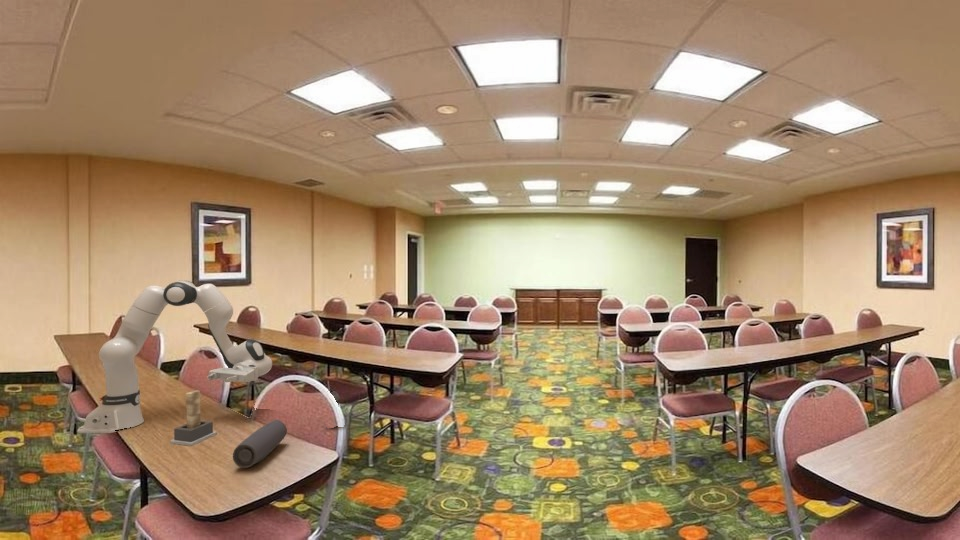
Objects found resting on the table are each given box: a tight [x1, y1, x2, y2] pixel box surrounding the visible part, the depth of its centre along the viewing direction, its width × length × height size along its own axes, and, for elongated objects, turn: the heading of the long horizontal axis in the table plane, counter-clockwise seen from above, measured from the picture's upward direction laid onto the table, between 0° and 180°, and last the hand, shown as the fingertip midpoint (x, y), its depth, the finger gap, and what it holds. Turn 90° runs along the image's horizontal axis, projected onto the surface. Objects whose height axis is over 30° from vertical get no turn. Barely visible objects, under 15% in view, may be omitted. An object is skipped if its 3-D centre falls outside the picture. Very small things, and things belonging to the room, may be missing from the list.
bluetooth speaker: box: [232, 419, 288, 469], centre depth 163 cm, size 23×9×10 cm, turn 178°
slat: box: [185, 390, 202, 429], centre depth 180 cm, size 4×2×18 cm, turn 165°
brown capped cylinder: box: [327, 380, 341, 406], centre depth 191 cm, size 7×7×20 cm
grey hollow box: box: [169, 419, 218, 447], centre depth 180 cm, size 12×10×6 cm
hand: (217, 379), depth 191 cm, fingers open, 8 cm apart
